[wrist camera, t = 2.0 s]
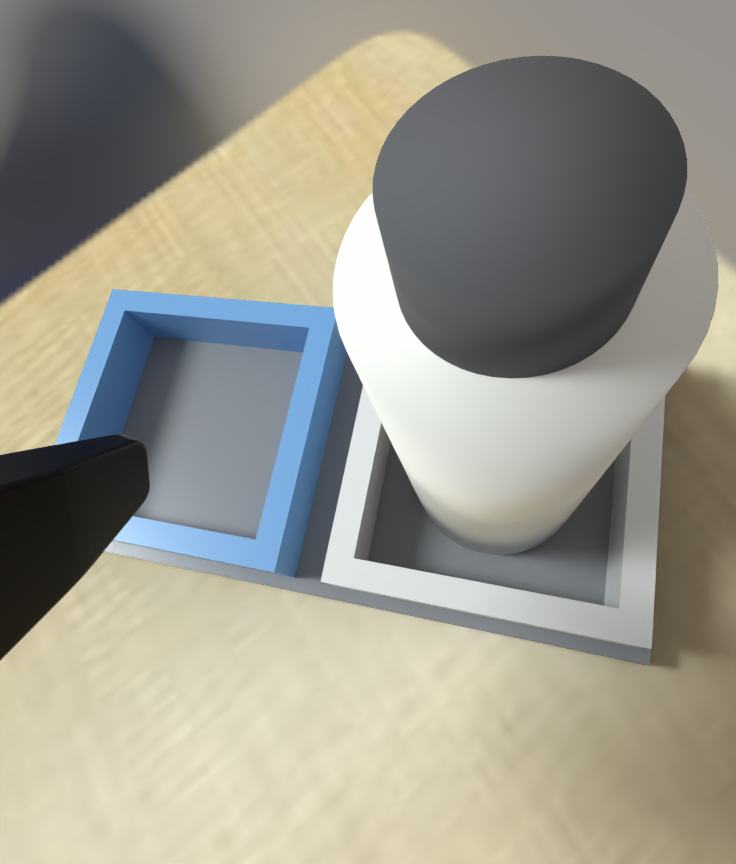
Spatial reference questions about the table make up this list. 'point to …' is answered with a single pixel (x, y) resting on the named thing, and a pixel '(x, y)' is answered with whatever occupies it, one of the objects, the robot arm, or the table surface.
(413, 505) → the blue and white tray
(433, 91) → the white bottle
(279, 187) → the table surface
